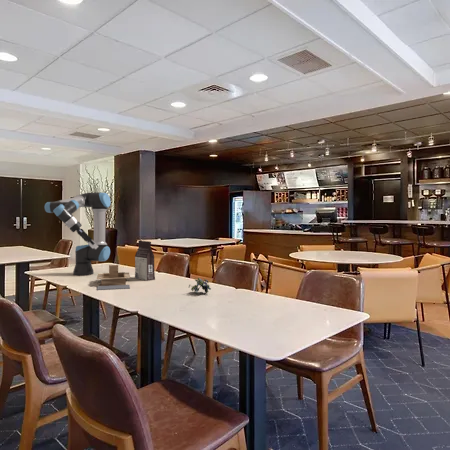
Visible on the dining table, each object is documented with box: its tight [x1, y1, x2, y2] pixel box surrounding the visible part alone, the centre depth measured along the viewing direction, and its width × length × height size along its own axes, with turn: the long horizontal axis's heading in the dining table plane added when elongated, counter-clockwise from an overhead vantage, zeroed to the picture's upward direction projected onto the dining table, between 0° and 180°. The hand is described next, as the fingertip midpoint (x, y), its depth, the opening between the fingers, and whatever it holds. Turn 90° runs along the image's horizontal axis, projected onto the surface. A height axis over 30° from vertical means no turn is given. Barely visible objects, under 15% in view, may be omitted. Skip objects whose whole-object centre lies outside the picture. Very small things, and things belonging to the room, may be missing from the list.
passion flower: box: [188, 277, 212, 294], centre depth 224 cm, size 11×11×12 cm
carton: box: [96, 271, 131, 286], centre depth 259 cm, size 26×22×5 cm
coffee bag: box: [134, 240, 156, 282], centre depth 274 cm, size 16×9×28 cm, turn 46°
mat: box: [96, 284, 131, 291], centre depth 240 cm, size 11×20×1 cm, turn 107°
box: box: [108, 264, 119, 278], centre depth 259 cm, size 6×6×12 cm
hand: (95, 247), depth 255 cm, fingers open, 13 cm apart
